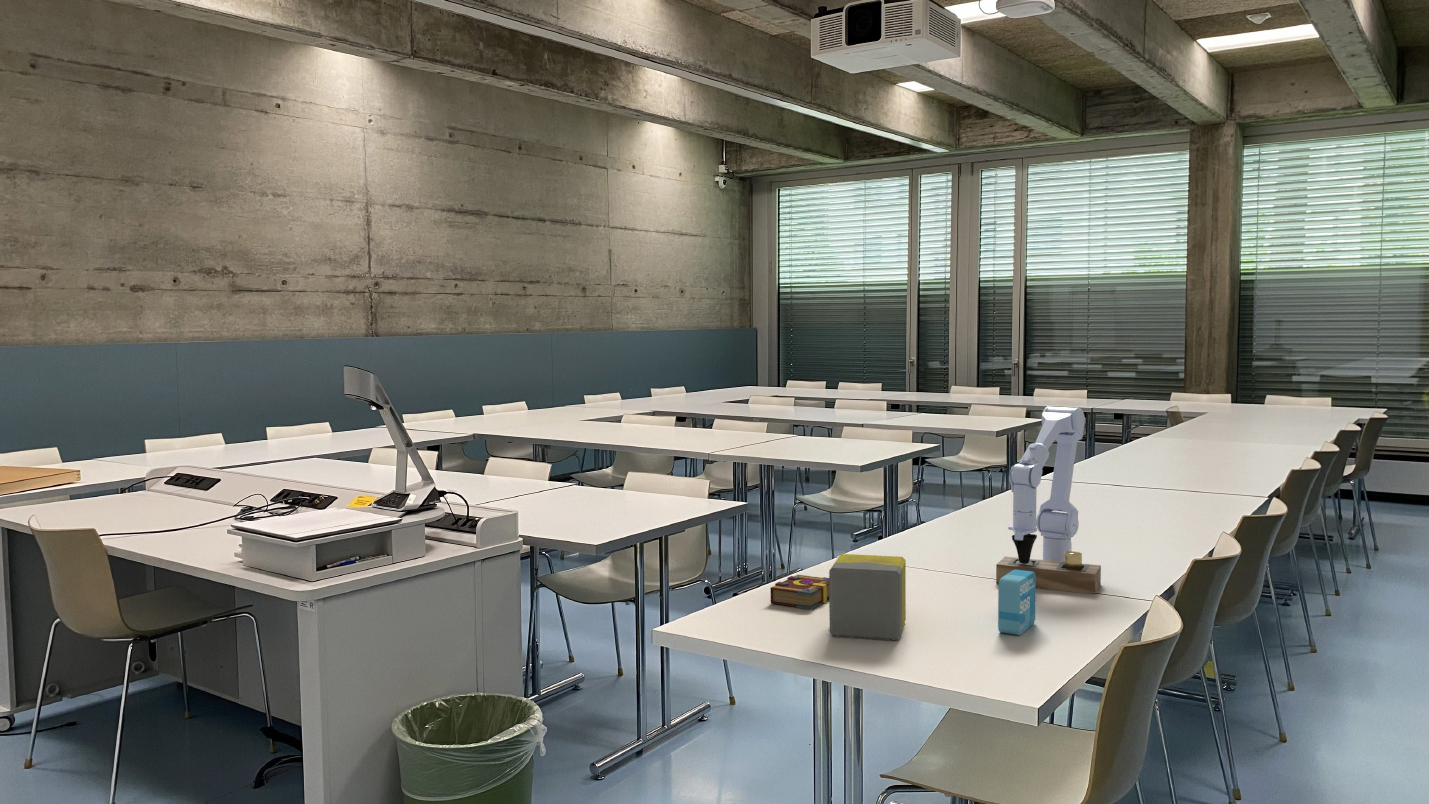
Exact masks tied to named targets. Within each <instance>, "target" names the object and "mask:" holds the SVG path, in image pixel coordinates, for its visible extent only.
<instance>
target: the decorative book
mask: <svg viewBox="0 0 1429 804" xmlns="http://www.w3.org/2000/svg"><path fill="white" fill-rule="evenodd" d="M769 591H770V604H772V605H781V606H787V607H793V608H794V607H795V608H797V609H802V610H808V611H813V610H814V609H816V608H817V607H819V605H821V604H826V603H827V601H829V577H818V576H810V575H802V574H795V575H790V576H788V577H787V579H785V580H784V581H778V582H776V583H775V585H774V586H772V587H770V590H769Z"/></svg>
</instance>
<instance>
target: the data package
mask: <svg viewBox="0 0 1429 804" xmlns="http://www.w3.org/2000/svg"><path fill="white" fill-rule="evenodd" d="M997 589H998V596H997V597H998V600H997V601H998V605H997V606H998V607H997V609H998V610H997V628H998V632H999V633H1002V634H1008V635H1014V636H1021V635H1022V634H1023V633H1025V632H1026V631H1028V630H1029V628H1031V627H1032V626H1033V625H1034V624H1035V621H1036V592H1037V591H1036V589H1037V588H1036V576H1035V573H1034V572H1031V571H1023V570H1013V571H1011V572H1010V573H1008V574H1007V575H1005V576H1003V577H1002V578H1001V579H1000V581H999V584H998V588H997Z"/></svg>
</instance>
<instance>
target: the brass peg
mask: <svg viewBox="0 0 1429 804" xmlns="http://www.w3.org/2000/svg"><path fill="white" fill-rule="evenodd" d="M1082 564H1083V553H1082V552H1079V551H1068V552H1064V568H1066V569H1076V570H1082Z"/></svg>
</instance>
